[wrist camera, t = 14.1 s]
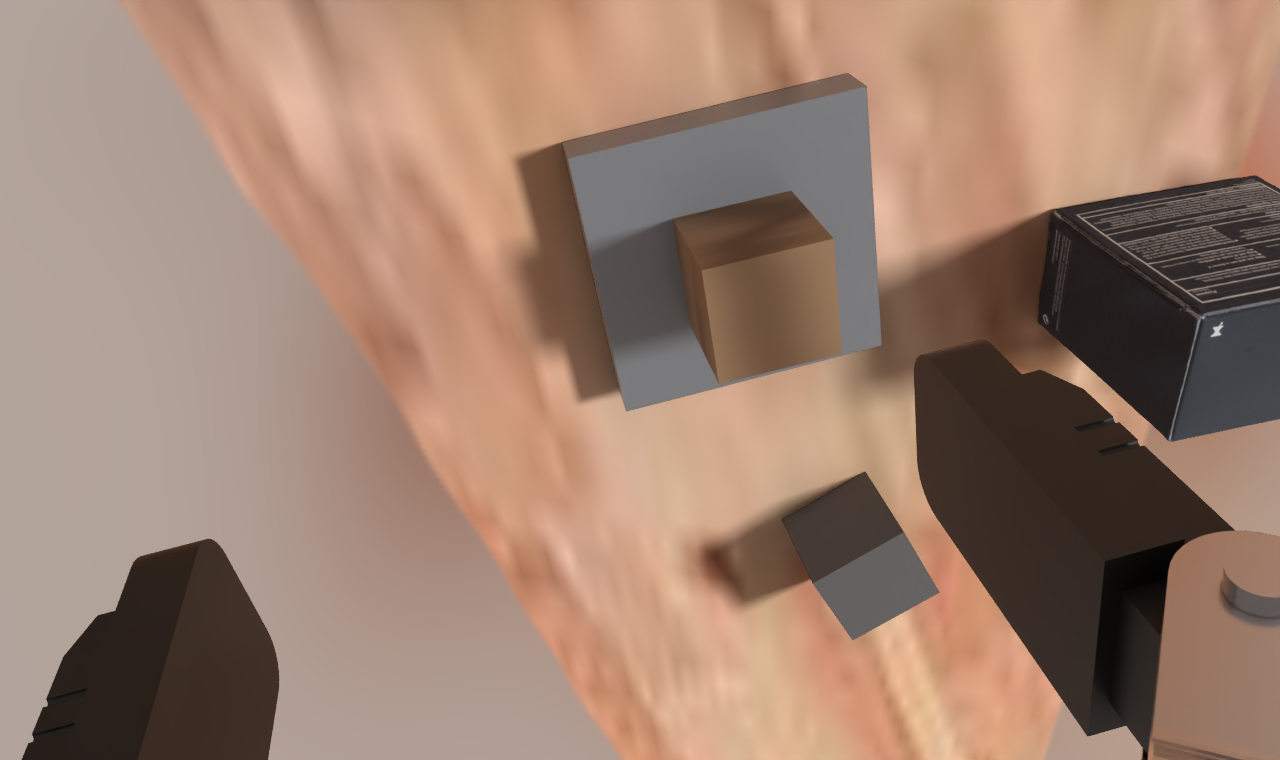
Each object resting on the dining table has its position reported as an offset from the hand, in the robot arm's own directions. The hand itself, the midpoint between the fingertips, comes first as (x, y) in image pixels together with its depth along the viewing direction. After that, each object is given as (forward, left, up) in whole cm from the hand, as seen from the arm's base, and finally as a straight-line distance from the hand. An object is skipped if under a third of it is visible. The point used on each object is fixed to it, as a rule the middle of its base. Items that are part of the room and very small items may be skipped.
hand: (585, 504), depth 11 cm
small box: (-28, +18, -30) cm, 45 cm away
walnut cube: (-8, +12, -28) cm, 32 cm away
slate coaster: (-8, +12, -30) cm, 33 cm away
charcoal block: (-12, +30, -30) cm, 44 cm away
